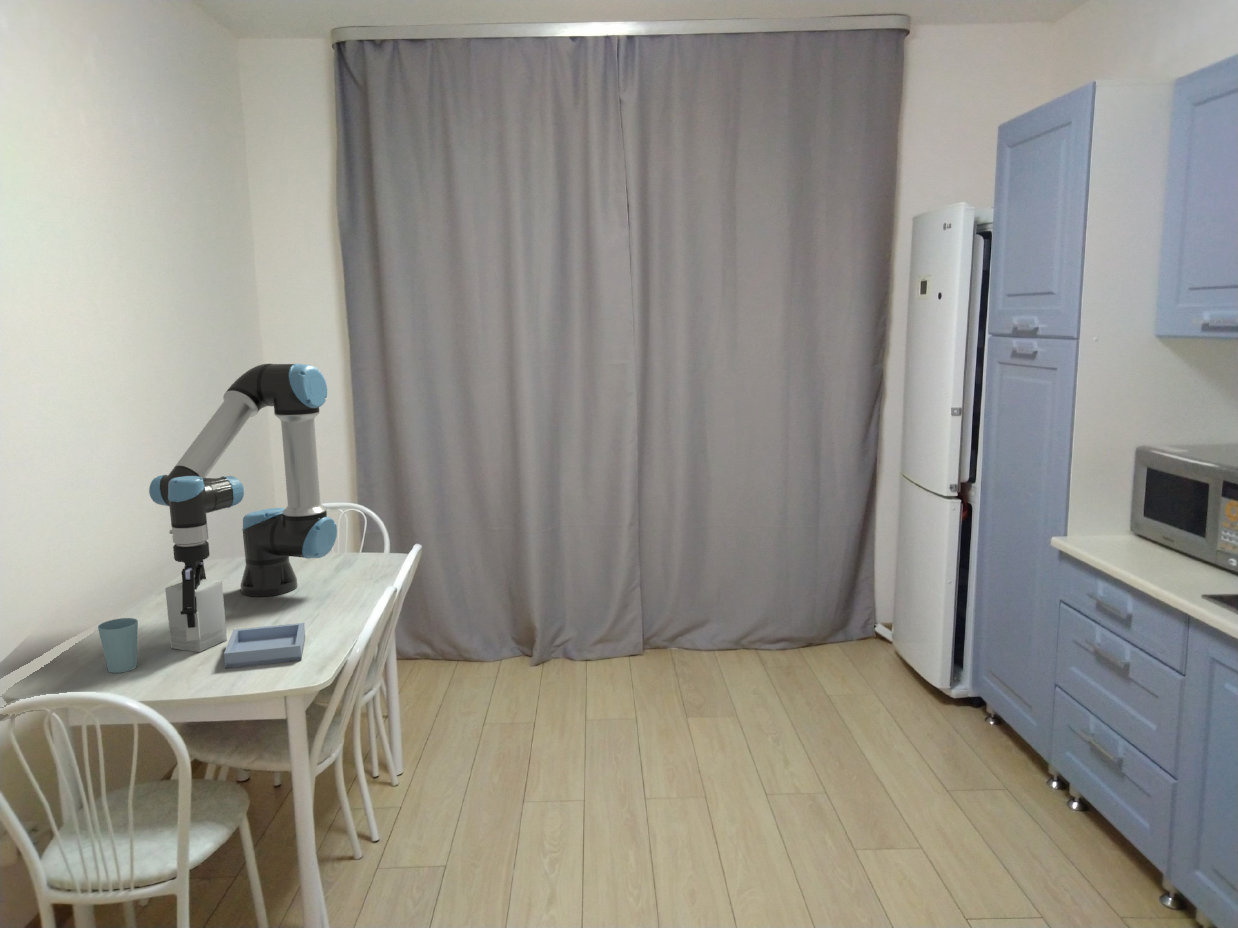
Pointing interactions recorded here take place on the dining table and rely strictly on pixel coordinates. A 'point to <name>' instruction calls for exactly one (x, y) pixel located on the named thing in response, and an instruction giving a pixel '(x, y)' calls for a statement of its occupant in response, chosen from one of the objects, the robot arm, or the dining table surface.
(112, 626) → the cup
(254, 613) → the dining table surface
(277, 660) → the bin
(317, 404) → the robot arm
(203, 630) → the supplement box
